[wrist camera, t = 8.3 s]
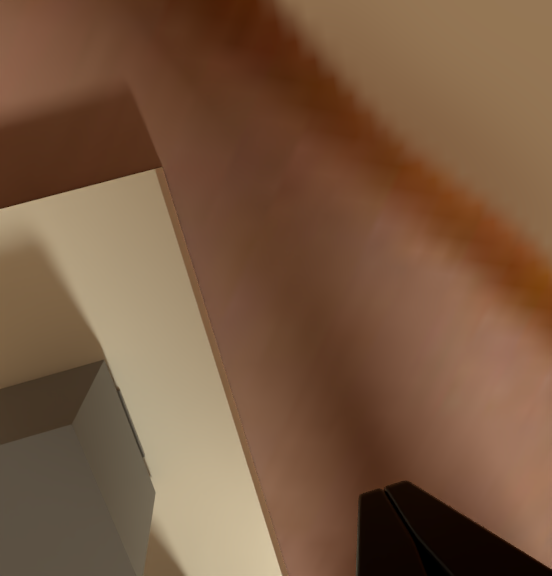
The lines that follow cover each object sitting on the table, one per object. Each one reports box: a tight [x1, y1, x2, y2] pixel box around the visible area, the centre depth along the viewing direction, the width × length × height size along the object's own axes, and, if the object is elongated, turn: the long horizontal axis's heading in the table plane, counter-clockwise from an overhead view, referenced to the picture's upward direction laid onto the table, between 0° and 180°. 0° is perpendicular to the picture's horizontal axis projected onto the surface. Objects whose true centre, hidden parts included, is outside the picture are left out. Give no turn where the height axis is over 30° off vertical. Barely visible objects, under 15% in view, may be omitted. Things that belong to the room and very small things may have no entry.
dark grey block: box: [0, 360, 156, 576], centre depth 11 cm, size 3×4×3 cm
